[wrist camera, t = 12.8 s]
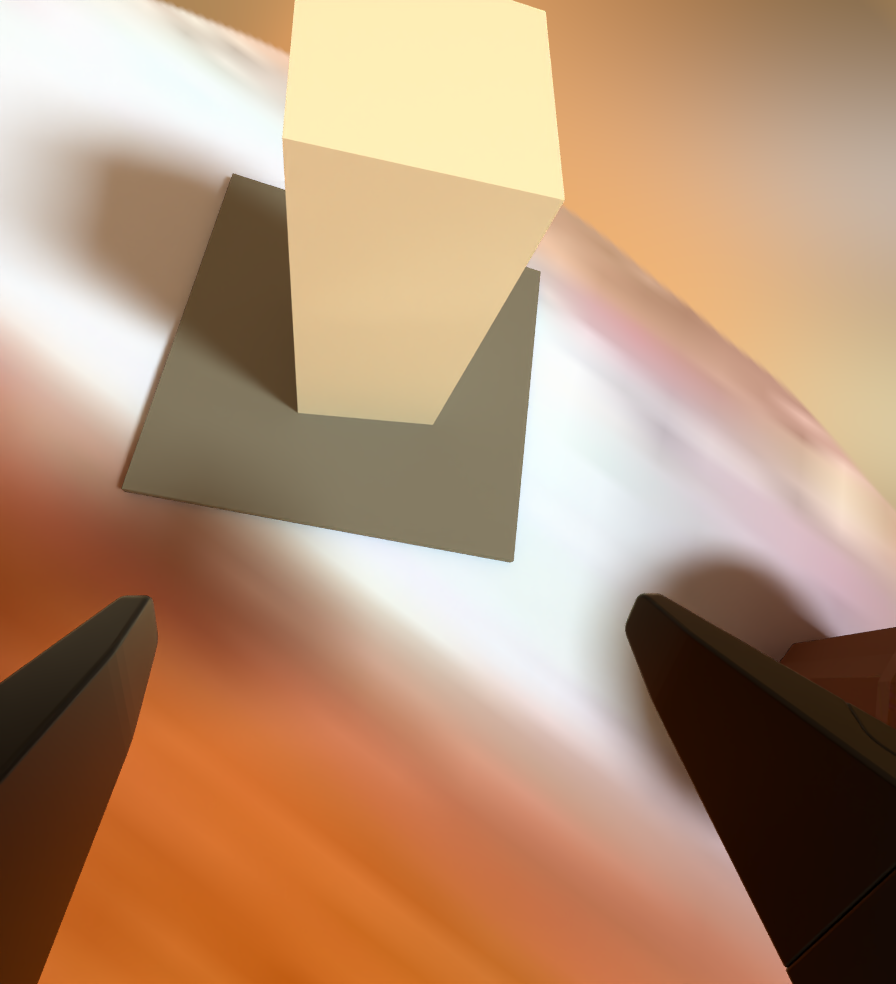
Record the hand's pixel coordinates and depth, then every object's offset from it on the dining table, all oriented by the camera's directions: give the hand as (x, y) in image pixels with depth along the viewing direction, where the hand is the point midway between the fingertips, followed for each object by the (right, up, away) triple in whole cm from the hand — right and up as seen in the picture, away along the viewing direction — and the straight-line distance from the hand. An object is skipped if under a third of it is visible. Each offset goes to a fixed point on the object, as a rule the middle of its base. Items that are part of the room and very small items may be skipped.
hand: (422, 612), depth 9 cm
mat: (-3, +8, +13) cm, 15 cm away
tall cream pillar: (-3, +8, +12) cm, 15 cm away
